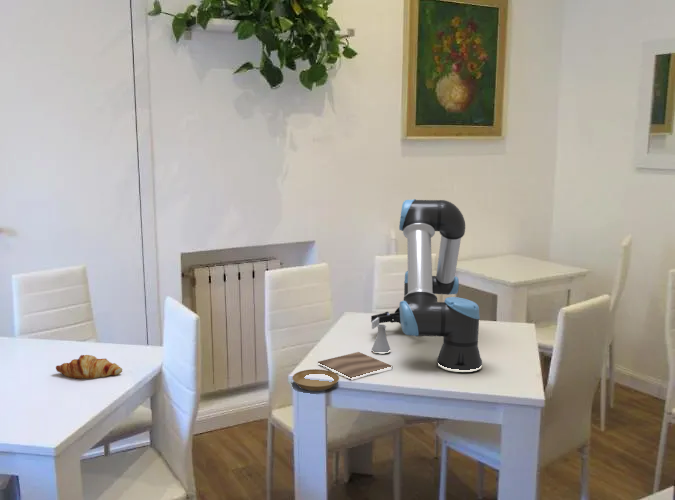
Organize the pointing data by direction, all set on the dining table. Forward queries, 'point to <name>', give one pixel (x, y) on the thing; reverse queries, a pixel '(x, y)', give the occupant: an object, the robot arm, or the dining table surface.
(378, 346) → the flask
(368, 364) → the walnut board
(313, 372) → the plant saucer
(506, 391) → the dining table surface
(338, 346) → the dining table surface
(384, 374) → the dining table surface
